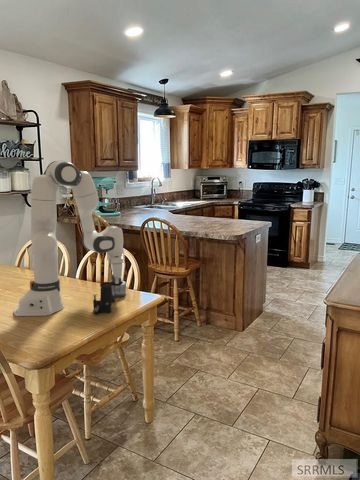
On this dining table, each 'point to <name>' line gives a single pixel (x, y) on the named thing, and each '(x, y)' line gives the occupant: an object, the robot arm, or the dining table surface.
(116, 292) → the grey short cylinder
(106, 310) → the scope
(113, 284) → the cap
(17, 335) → the dining table surface
